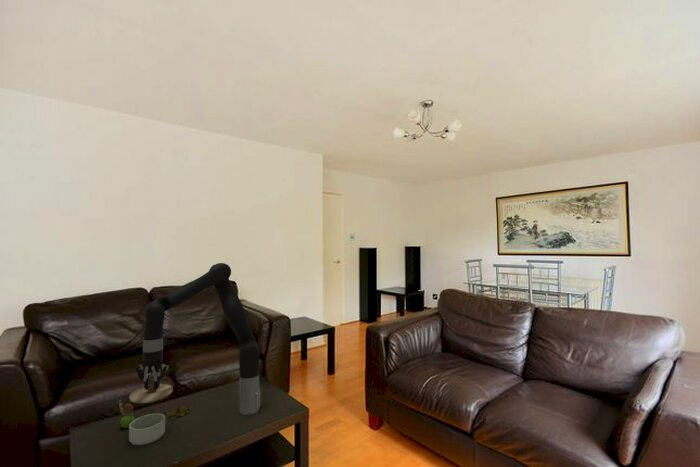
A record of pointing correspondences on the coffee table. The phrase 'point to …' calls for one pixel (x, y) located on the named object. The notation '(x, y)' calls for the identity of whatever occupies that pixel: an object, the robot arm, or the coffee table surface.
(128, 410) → the snail figurine
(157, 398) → the lid
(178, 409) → the lily flower
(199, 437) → the coffee table surface
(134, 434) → the bowl
